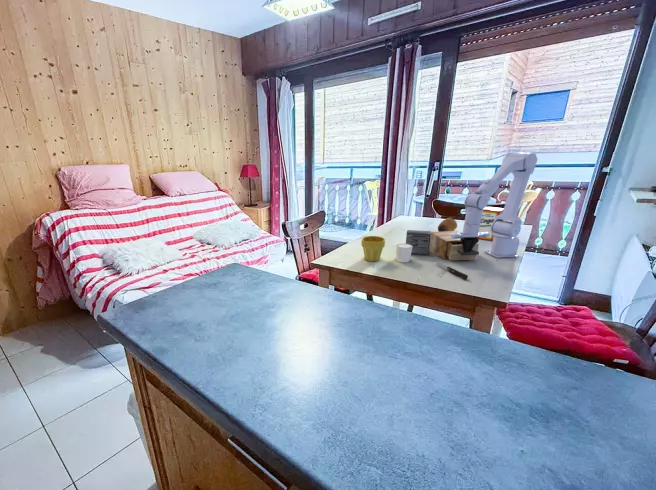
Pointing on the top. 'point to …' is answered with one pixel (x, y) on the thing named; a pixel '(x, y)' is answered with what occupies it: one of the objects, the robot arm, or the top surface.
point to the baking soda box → (488, 221)
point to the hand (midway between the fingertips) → (466, 254)
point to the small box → (419, 241)
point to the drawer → (460, 251)
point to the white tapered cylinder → (403, 252)
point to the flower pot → (373, 247)
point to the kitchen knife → (452, 270)
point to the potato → (447, 225)
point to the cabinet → (441, 242)
